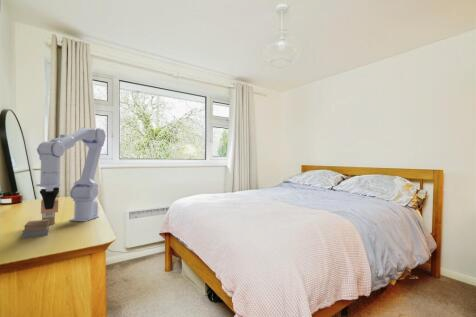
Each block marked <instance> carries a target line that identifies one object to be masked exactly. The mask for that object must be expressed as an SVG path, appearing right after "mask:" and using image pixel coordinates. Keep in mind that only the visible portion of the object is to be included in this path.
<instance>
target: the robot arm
mask: <svg viewBox="0 0 476 317" xmlns="http://www.w3.org/2000/svg"><path fill="white" fill-rule="evenodd" d="M106 137H107V136H106V133H105V130H104V128H102V127H97V128H96V127H80V128H78V129H77V131H74V132H73V133H72V134H70V135H69V134H63V133H62V134H60V135H59V137H56V138H51V140H49V141H43V142H41V143H40V144H39V145H38V146H37V148H36V152H37V154H38V156H39V160H40V180H39V181H40V182H39V183H38V184H37V183H36V185H35V186H36V187H40V188H41V189H40V190H39V194H40V196H41V198H43V199H42V200H43V201H44V206H45V209H46V210H47V209H53V206H54V202H55V199H57V196H58V194H59V192H60V186H61V183H60V177H61V176H60V175H61V173H60V172H61V170H60V169H61V157H63V155H65V154H64V153H65V152H66V151H68V150H69V149H71V148H73V147H74V146H75V144H76V143H77V142H79V141H81V142H82V143H83V144H84V145H85V146H86V147H87V148H88V151H87V154H86V158H85V161H84V166H83V169H82V172H81V176H80V178H79V179H78V180H76V181H75V182H74V183H73V186H72V188H71V189H70V192H69V195H70V198H71V199H72V201H74V209H73V210H74V212H73V218H70V219H68V221H71V222H87V221H91V220H93V219H96V218H100V215H99V203H98V201H97V200H96V198H97V197H98V194H99V191H98V190H99V189H98V188H99V185H98V183H97V182H96V181H95V175H96V173H97V168H98V164H99V161H100V158H101V153H102V148H103V147H104V144H105V141H106Z"/></svg>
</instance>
